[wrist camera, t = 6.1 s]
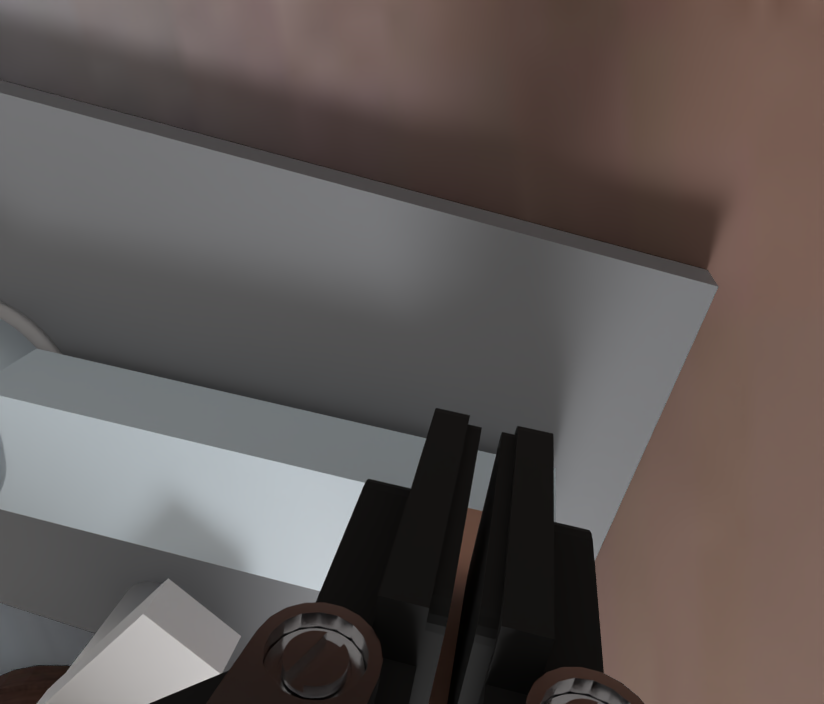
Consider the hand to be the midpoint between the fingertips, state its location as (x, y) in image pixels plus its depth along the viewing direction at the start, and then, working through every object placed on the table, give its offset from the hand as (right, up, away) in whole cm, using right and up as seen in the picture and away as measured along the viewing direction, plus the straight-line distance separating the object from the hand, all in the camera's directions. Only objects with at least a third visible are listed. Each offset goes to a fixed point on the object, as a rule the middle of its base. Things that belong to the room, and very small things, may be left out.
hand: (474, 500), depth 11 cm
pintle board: (-6, 0, +7) cm, 9 cm away
